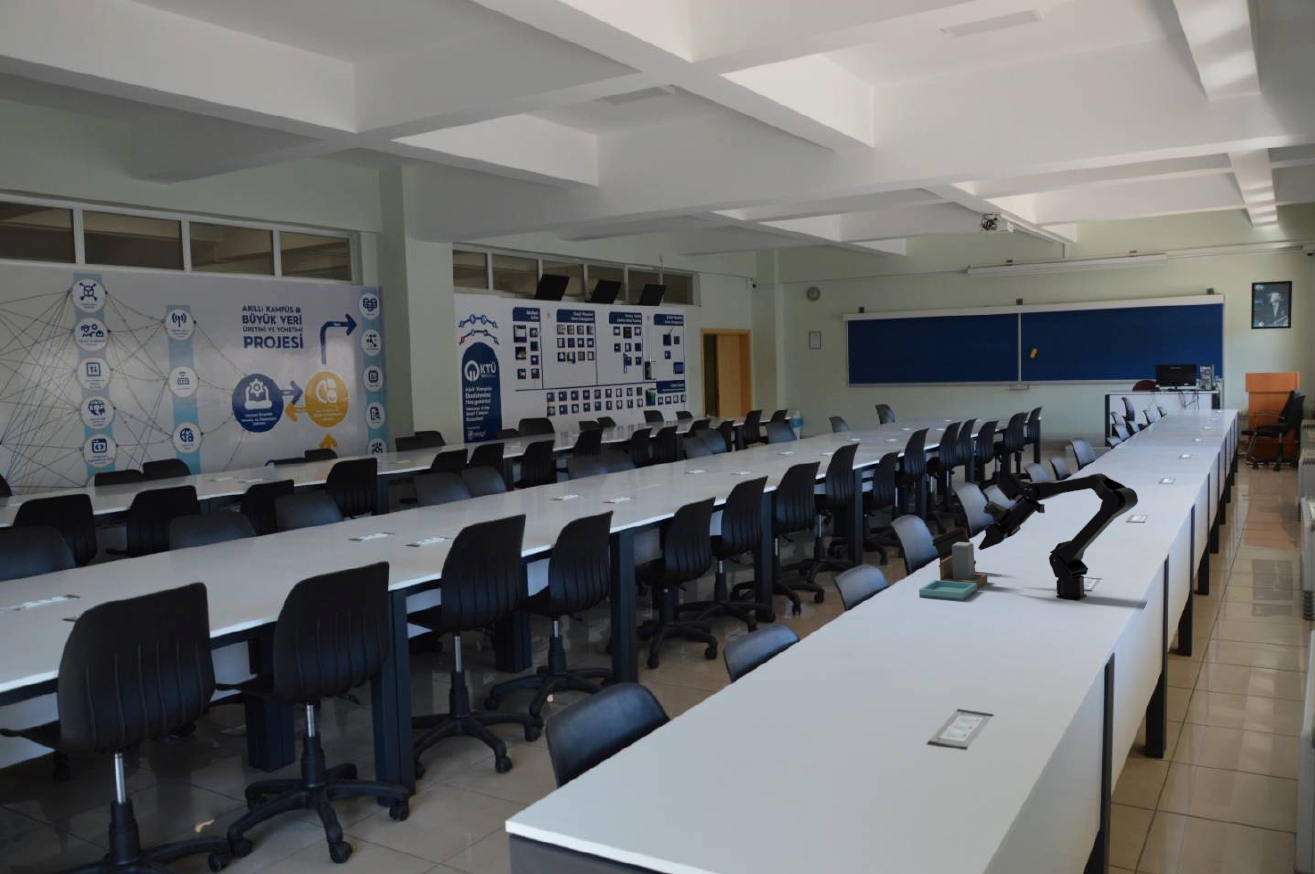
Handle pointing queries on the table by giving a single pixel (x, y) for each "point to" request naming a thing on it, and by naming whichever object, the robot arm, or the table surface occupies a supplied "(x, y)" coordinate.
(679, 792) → the table surface
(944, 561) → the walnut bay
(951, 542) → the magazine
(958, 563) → the grey lidded box
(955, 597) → the teal tray
